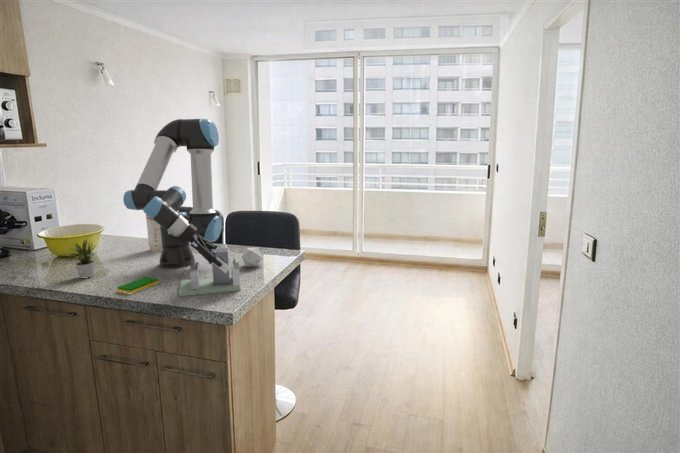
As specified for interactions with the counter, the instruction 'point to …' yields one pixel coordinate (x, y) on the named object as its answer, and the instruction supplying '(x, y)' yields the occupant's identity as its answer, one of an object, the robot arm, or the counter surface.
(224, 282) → the steel block
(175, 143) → the robot arm
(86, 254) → the house plant
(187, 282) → the vise bed
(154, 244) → the coffeecake box
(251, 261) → the die
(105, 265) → the counter surface
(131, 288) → the dish sponge
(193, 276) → the sliding jaw
